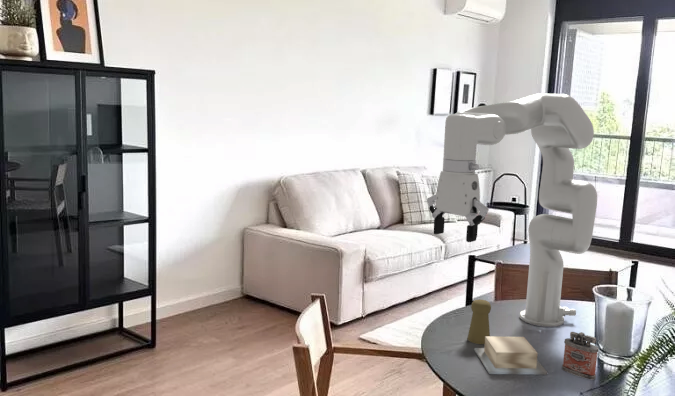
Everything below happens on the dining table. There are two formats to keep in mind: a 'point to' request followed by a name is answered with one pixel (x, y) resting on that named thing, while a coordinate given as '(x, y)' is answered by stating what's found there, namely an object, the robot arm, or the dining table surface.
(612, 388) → the dining table surface
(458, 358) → the dining table surface
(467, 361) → the dining table surface
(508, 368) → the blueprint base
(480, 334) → the olive brown knobbed peg
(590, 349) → the lighter
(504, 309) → the dining table surface
